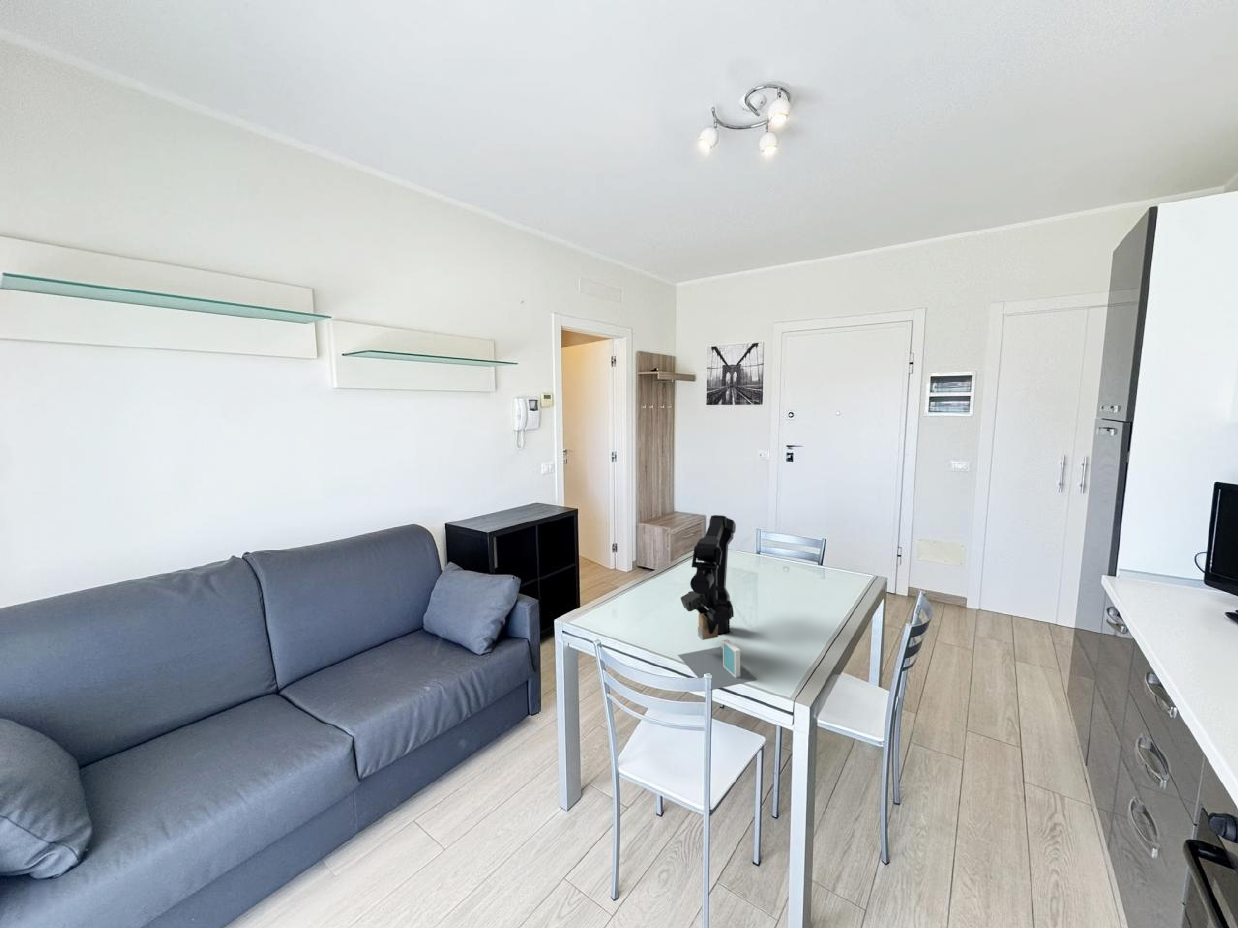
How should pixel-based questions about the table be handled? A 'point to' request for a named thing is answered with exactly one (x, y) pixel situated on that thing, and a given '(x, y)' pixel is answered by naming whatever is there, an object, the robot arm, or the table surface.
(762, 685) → the table surface
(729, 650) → the tile
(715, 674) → the mat
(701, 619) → the block
